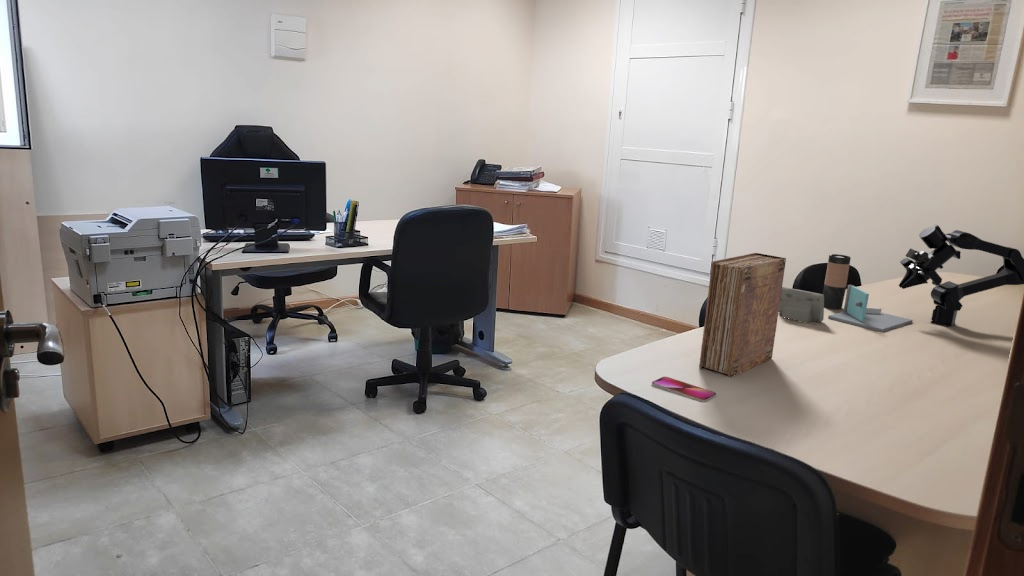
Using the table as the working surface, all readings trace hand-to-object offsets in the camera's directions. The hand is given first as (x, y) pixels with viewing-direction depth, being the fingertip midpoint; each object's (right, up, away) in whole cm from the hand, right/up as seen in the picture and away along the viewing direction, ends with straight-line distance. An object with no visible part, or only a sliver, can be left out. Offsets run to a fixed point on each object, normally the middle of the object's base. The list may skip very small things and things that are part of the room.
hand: (900, 287), depth 251 cm
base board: (-10, -12, +2) cm, 16 cm away
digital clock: (-37, -11, 0) cm, 39 cm away
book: (-76, -22, -53) cm, 95 cm away
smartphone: (-96, -26, -75) cm, 125 cm away
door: (-17, -10, +1) cm, 20 cm away
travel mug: (-16, -8, +19) cm, 26 cm away
